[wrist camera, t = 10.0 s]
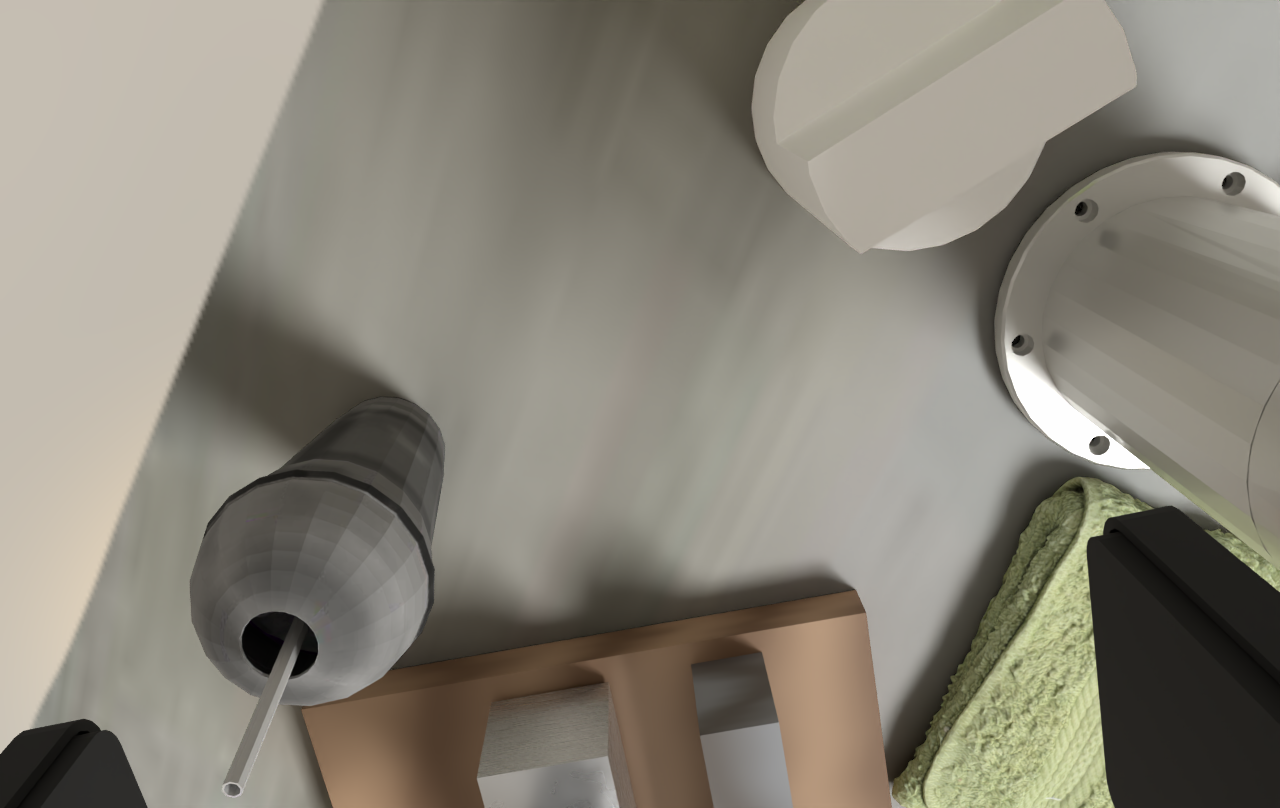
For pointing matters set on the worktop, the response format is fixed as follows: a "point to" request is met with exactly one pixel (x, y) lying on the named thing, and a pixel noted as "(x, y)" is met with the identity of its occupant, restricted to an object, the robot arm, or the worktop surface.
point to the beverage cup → (322, 566)
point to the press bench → (640, 713)
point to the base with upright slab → (927, 107)
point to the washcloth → (1034, 674)
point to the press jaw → (555, 752)
